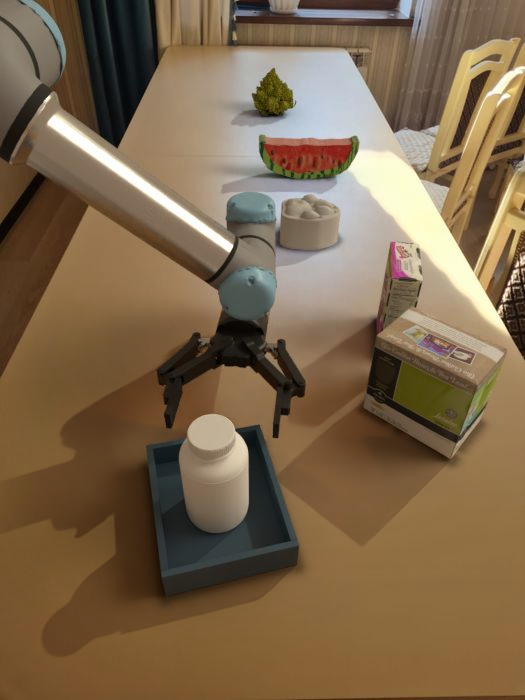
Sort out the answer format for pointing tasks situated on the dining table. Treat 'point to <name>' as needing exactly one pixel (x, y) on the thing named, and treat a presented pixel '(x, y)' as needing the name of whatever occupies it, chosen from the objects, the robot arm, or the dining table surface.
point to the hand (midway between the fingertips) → (221, 426)
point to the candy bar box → (399, 283)
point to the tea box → (432, 379)
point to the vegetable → (273, 95)
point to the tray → (228, 547)
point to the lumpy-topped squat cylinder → (308, 223)
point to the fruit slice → (308, 156)
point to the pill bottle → (214, 474)
